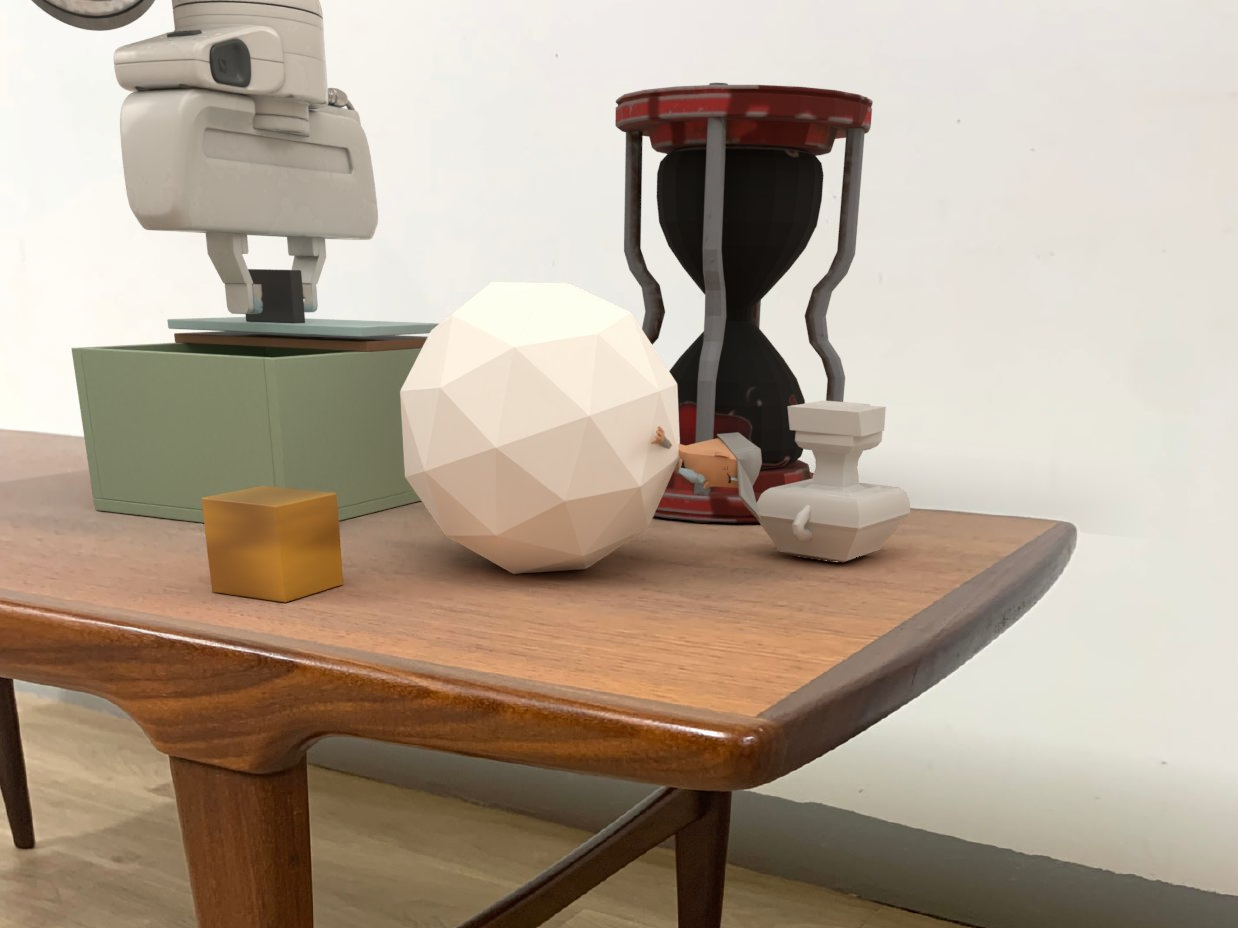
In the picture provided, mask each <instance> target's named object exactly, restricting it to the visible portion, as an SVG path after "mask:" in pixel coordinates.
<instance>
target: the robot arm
mask: <svg viewBox="0 0 1238 928" xmlns="http://www.w3.org/2000/svg"><path fill="white" fill-rule="evenodd" d="M155 1H156V0H31V2H32V3H33V4H34V5H36V6H37V7H38V8H39V9H41V10H42V11H43V12H45V14H47V15H49V16H50V17H52V18H53V19H55V20H57V21H59V22H61V23H63V24H66V25H68V26H71V27H74V28H77V29H81V30H85V31H93V32H94V31H95V32H105V31H113V30H117V29H120V28H123V27H124V28H125V27H126V26H128V25H131V24H132V23H134V22H135V21H137V20H139V19H140V18H141V17H142V16H143V15H145V13H147V12H148V11H149V10H150V8H151V7H152V6H153V4H154V3H155ZM171 5H172V17H173V26H174V30H173V31H168V32H165V33H162V34H159V35H156V36H152V37H148V38H146V39H142V40H139V41H135V42H131V43H128V44H124V45H121V46H119V47H117V48H116V49H115V50H114V52H113V68H114V74H115V78H116V81H117V83H118V85H119V86H120V87H121V88H122V89H124V90H125V91H128V92H130V93H129V94H128V95H127V96H126V97H125V98H124V100H123V102H122V104H121V107H120V114H119V133H120V135H119V136H120V148H121V158H122V168H123V177H124V184H125V190H126V196H127V201H128V206H129V209H130V210H131V212H132V213H133V215H134V217H135V218H136V220H137V221H138V223H139V225H140V226H141V227H142V228H143V230H146V231H157V232H178V233H179V232H180V233H197V234H200V233H201V234H205V240H206V241H205V242H206V250H207V252H206V253H207V255H208V257H209V259H210V261H211V263H212V265H213V266H214V269H215V270H216V273H217V274H218V276H219V278H220V280H221V281H222V283H223V284H224V290H225V291H224V293H225V301H226V308H227V311H228V312H229V313H230V314H232V315H245V314H260V313H261V312H262V311H263V308H264V306H263V301H262V296H263V294H262V284H253V281H252V278H251V276H250V273H249V271H248V269H249V268H248V265H247V263H246V261H245V258H244V255H248V254H249V241H248V236H261V237H278V238H279V237H281V238H286V243H287V244H286V245H287V254H288V256H291V257H293V261H292V266H291V270H301V275H302V288H303V301H304V313H315V312H317V311H318V307H319V305H318V304H319V303H318V290H317V289H318V287H317V285H318V283H319V280H320V277H321V274H322V271H323V268H324V265H325V262H326V259H327V247H326V240H341V241H343V240H344V241H345V240H346V241H370V240H372V239H373V237H374V235H375V233H376V229H377V227H378V223H379V211H378V209H379V208H378V199H377V191H376V183H375V175H374V169H373V161H372V156H371V150H370V145H369V142H368V141H369V140H368V137H367V134H366V132H365V129H364V128H363V127H362V124H361V118H360V114H359V112H358V111H357V110H355V107H354V105H353V104H352V102H351V101H350V100H349V99H348V95H347V93H346V92H345V91H343V90H341V89H340V88H336V87H329V86H328V74H327V59H326V46H325V29H324V28H325V26H324V15H323V14H324V13H323V9H322V5H321V1H320V0H171Z"/></svg>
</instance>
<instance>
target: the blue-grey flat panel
mask: <svg viewBox="0 0 1238 928" xmlns="http://www.w3.org/2000/svg"><path fill="white" fill-rule="evenodd" d="M248 271H249V273H250V276H251V278H252V281H253V284H262V294H263V296H262V301H263V306H264V308H263V311H262V312H261V313H260V314H244V316H231V317H229V316H227V317H197V318H196V317H195V318H194V317H193V318H168V319H167V320H166V321H167V328H168V329H169V330H187V331H189V330H190V331H210V332H216V331H234V332H257V333H281V334H304V335H327V336H350V337H371V336H389V335H402V336H409V335H422V334H430V332H431V330H432V329H434V328H435V327H436V326H437V325H439V324H440V323H439V322H438V323H437V322H412V321H410V322H409V321H387V320H384V321H383V320H359V319H357V320H356V319H334V318H333V319H332V318H331V319H329V318H308V317H307V318H306V315H305V314H306V312H304V301H303V288H302V275H301V270H292V269H271V268H269V269H265V268H264V269H257V268H248Z"/></svg>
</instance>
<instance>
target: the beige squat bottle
mask: <svg viewBox="0 0 1238 928" xmlns="http://www.w3.org/2000/svg"><path fill="white" fill-rule="evenodd" d="M787 407H788V416H789V426H790V430H796V434H795V442H796V443H797V445H798V446H799V447H801V448H803V450H806V451H811V452H812V454H813V457H814V459H815V461H814V463H815V468H814V471H813V473H814V474H813V479H808V480H804V481H799V482H795V483H791V484H786V485H782V486H777V487H773V488H769V489H768V490H766V491H764V492H763V493H762V494H761V496H760V498H759V500H758V501H757V507H758V511H759V515H760V518H761V520H760V519H758V518H757V519H758V521H759V522H758V523H759V524H760V526H761V527H762V529H763V530H764V531H765V532H766V534H767V536H769V538H770V539H771V540H772V542H773V543H774V544H775V546H776V548H777V550H778V551H777V552H781V553H784V554H787V555H790V556H793V557H796V556H800V557H799V558H801V557H806V558H805V559H808V558H813V559H812V560H814V559H820V560H819V561H821V560H827V561H826V562H828V561H838V562H842V563H845V562H847V561H851V560H853V559H857V558H860V557H862V556H865V555H868V554H871V553H874V552H877V551H880V550H882V548H883V546H884V545H885V543H886V542H887V541H888V540H889V539H890V537H891V536H892V535H893V534H894V533H895V532H897V529H899V527H901V525H902V524H903V522H904V521H905V520H906V518H907V517H908V516H909V515H910V514H911V502H910V499H909V496H908V494H907V492H906V491H905V490H904V489H903V488H901V487H900V486H893V485H881V484H874V483H867V482H866V483H865V482H859V481H860V479H859V476H860V475H859V469H858V466H859V459H860V458H861V456H862V454H863V452H865V451H869V450H871V449H872V450H873V449H874V448H876V447H878V446H879V444H880V443H882V441H883V431H885V423H886V422H885V421H886V410H887V409H886V408H887V407H886V406H878V405H877V406H876V405H871V404H870V403H860V402H848V401H843V402H836V401H826V400H818V401H812V402H805V403H804V404H800V405H793V406H787ZM859 556H860V557H859ZM856 557H857V558H856Z"/></svg>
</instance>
